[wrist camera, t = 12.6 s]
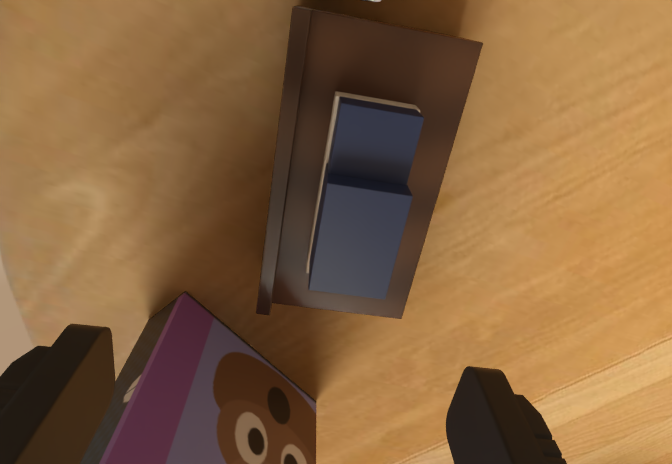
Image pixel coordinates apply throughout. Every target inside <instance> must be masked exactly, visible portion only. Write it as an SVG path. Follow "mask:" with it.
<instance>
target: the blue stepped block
mask: <svg viewBox="0 0 672 464" xmlns="http://www.w3.org/2000/svg"><path fill="white" fill-rule="evenodd" d="M423 121H424V117H423V116H422V115H421V113H420V110H419V108H418V107H417V106H416V105H412V104H406V103H401V102H395V101H389V100H383V99H378V98H372V97H366V96H361V95H355V94H349V93H344V92H338V91H336V92H335V95H334V101H333V107H332V113H331V119H330V125H329V131H328V137H327V143H326V149H325V155H324V161H323V167H322V173H321V178H320V184H319V190H318V196H317V202H316V208H315V214H314V220H313V226H312V232H311V238H310V244H309V250H308V256H307V261H306V273H309V287H308V289H309V290H313V291H321V292H329V293H337V294H345V295H353V296H361V297H368V298H376V299H385V298H386V295H387V291H388V287H389V284H390V280H391V276H392V272H393V269H394V265H395V261H396V258H397V254H398V250H399V246H400V243H401V239H402V235H403V232H404V228H405V224H406V220H407V217H408V213H409V209H410V206H411V202H412V198H413V195H412V193H411V191H410V189H409V187H408V185H407V183H408V179H409V175H410V171H411V167H412V163H413V160H414V156H415V152H416V148H417V144H418V140H419V136H420V133H421V129H422V125H423Z"/></svg>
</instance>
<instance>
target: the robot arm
mask: <svg viewBox="0 0 672 464" xmlns="http://www.w3.org/2000/svg"><path fill="white" fill-rule="evenodd" d="M114 388H115V369H114V356H113V344H112V333H111V330H110V329H109V328H108V327H100V326H90V325H80V324H70V325H68V326H67V327H66V328H65V329H64V331H63V332H62V333H61V335H60V336H59V337H58V338H57V340H56V341H55V342H54V344H53V345H52V346H51V347H46V346H37V347H35V348H34V349H32V350H31V351H29V352H28V353H26V354H25V355H23V356H21V357H20V358H18V359H17V360H16V361H14V362H12V363H11V365H10V366H9V367H8V368H7V369H6V370H5V372H4V373H3V374H2V375H1V376H0V464H80V462H81V460H82V458H83V456H84V454H85V452H86V451H87V449H88V447H89V445H90V443H91V441H92V439H93V437H94V435H95V433H96V431H97V429H98V427H99V425H100V424H101V422H102V420H103V418H104V416H105V414H106V412H107V410H108V408H109V406H110V403H111V400H112V397H113V393H114ZM446 433H447V439H448V443H449V446H450V450H451V453H452V457H453V460H454V464H567V463H566V461H565V459H562V456H561V455H562V453H561V452H560V450H559V448H558V446H557V444H556V442H555V440H552V435H551V433H550V431H549V429H548V427H547V425H546V423H545V421H544V419H543V417H542V416H541V414H540V413H539V412H538V411H537V410H536V409H535V408H534V407H533V406H532V404H531V403H530V402H529V401H528V400H527V399H526V398H525V397H524V396H523V395H517V394H514V393H513V391H512V389H511V387H510V385H509V382H508V380H507V378H506V376H505V375H504V373H503V372H502V371H501V370H499V369H489V368H480V367H470V366H468V367H466V368H465V370H464V371H463V374H462V376H461V379H460V381H459V384H458V386H457V389H456V392H455V394H454V397H453V399H452V402H451V404H450V407H449V410H448V413H447V418H446Z"/></svg>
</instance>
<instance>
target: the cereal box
mask: <svg viewBox="0 0 672 464" xmlns="http://www.w3.org/2000/svg"><path fill="white" fill-rule="evenodd" d="M80 464H316V401H315V400H314V399H313V398H311V397H310V396H309V395H308V394H307V393H305V392H304V391H303V390H302V389H301V388H299V387H298V386H297V385H296V384H295V383H294V382H292V381H291V380H290V379H289V378H288V377H286V376H285V375H284V374H283V373H282V372H281V371H279V370H278V369H277V368H276V367H275V366H273V365H272V364H271V363H270V362H269V361H267V360H266V359H265V358H264V357H263V356H262V355H260V354H259V353H258V352H257V351H256V350H254V349H253V348H252V347H251V346H250V345H249V344H247V343H246V342H245V341H244V340H243V339H241V338H240V337H239V336H238V335H237V334H236V333H234V332H233V331H232V330H231V329H230V328H228V327H227V326H226V325H225V324H224V323H222V322H221V321H220V320H219V319H218V318H217V317H215V316H214V315H213V314H212V313H211V312H209V311H208V310H207V309H206V308H205V307H204V306H202V305H201V304H200V303H199V302H198V301H196V300H195V299H194V298H193V297H192V296H190V295H189V294H188V293H187V292H186V291H185V292H184V293H183V294H181V295H180V296H179V297H178V298H176V299H175V300H174V301H172V302H171V303H170V304H169V305H167V306H166V307H165V308H164V309H162V310H161V311H160V312H158V313H157V314H156V315H155V316H153V317H152V318H151V319H150V320H148V322H147V324H146V326H145V328H144V330H143V331H142V333H141V335H140V337H139V339H138V341H137V343H136V344H135V346H134V348H133V350H132V352H131V354H130V356H129V357H128V359H127V361H126V363H125V365H124V367H123V369H122V370H121V372H120V374H119V376H118V378H117V380H116V382H115V388H114V393H113V397H112V400H111V403H110V406H109V408H108V410H107V412H106V414H105V416H104V418H103V420H102V422H101V424H100V425H99V427H98V429H97V431H96V433H95V435H94V437H93V439H92V441H91V443H90V445H89V447H88V449H87V451H86V452H85V454H84V456H83V458H82V460H81V462H80Z"/></svg>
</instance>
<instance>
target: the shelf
mask: <svg viewBox="0 0 672 464" xmlns="http://www.w3.org/2000/svg"><path fill="white" fill-rule="evenodd" d="M482 45H483V43H482V42H477V41H473V40H469V39H465V38H461V37H456V36H451V35H445V34H440V33H435V32H430V31H425V30H420V29H415V28H410V27H404V26H399V25H394V24H389V23H384V22H379V21H374V20H369V19H363V18H358V17H353V16H348V15H343V14H338V13H333V12H328V11H322V10H317V9H312V8H307V7H302V6H294V7H293V8H292V16H291V25H290V33H289V41H288V50H287V58H286V67H285V75H284V83H283V92H282V100H281V108H280V117H279V125H278V134H277V142H276V150H275V159H274V167H273V175H272V184H271V192H270V201H269V209H268V217H267V226H266V234H265V242H264V251H263V259H262V268H261V276H260V284H259V293H258V301H257V310H256V313H257V314H264V315H270V312H271V305H272V303H276V304H284V305H292V306H300V307H309V308H317V309H325V310H333V311H341V312H349V313H357V314H365V315H373V316H382V317H390V318H398V319H401V318H402V315H403V312H404V308H405V305H406V302H407V298H408V295H409V291H410V288H411V285H412V281H413V278H414V275H415V271H416V268H417V264H418V261H419V258H420V254H421V251H422V248H423V244H424V241H425V237H426V234H427V231H428V227H429V224H430V221H431V217H432V214H433V210H434V207H435V204H436V200H437V197H438V194H439V190H440V187H441V183H442V180H443V177H444V173H445V170H446V167H447V163H448V160H449V156H450V153H451V150H452V146H453V143H454V140H455V136H456V133H457V130H458V126H459V123H460V119H461V116H462V113H463V109H464V106H465V103H466V99H467V96H468V92H469V89H470V86H471V82H472V79H473V76H474V72H475V69H476V65H477V62H478V59H479V55H480V52H481V49H482ZM336 91H338V92H344V93H349V94H355V95H361V96H366V97H372V98H378V99H383V100H389V101H395V102H401V103H406V104H412V105H416V106H417V107H418V108H419V110H420V113H421V115H422V116H423V117H424V121H423V125H422V129H421V133H420V136H419V140H418V144H417V148H416V152H415V156H414V160H413V163H412V167H411V171H410V175H409V179H408V183H407V185H408V187H409V189H410V191H411V193H412V195H413V198H412V202H411V206H410V209H409V213H408V217H407V220H406V224H405V228H404V232H403V235H402V239H401V243H400V246H399V250H398V254H397V258H396V261H395V265H394V269H393V272H392V276H391V280H390V284H389V287H388V291H387V295H386V298H385V299H376V298H368V297H361V296H353V295H345V294H337V293H329V292H321V291H313V290H309V289H308V287H309V273H306V261H307V256H308V250H309V244H310V238H311V232H312V226H313V220H314V214H315V208H316V202H317V196H318V190H319V184H320V178H321V173H322V167H323V161H324V155H325V149H326V143H327V137H328V131H329V125H330V119H331V113H332V107H333V101H334V95H335V92H336Z"/></svg>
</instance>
